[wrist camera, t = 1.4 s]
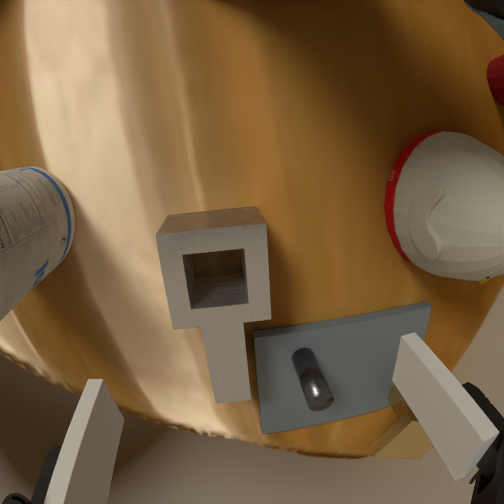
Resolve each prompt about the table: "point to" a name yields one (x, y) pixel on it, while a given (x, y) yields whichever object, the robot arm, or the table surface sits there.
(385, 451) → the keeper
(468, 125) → the table surface
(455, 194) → the kitchen timer
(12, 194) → the supplement tub
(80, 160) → the table surface
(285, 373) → the board
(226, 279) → the link
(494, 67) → the plastic cup
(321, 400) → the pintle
